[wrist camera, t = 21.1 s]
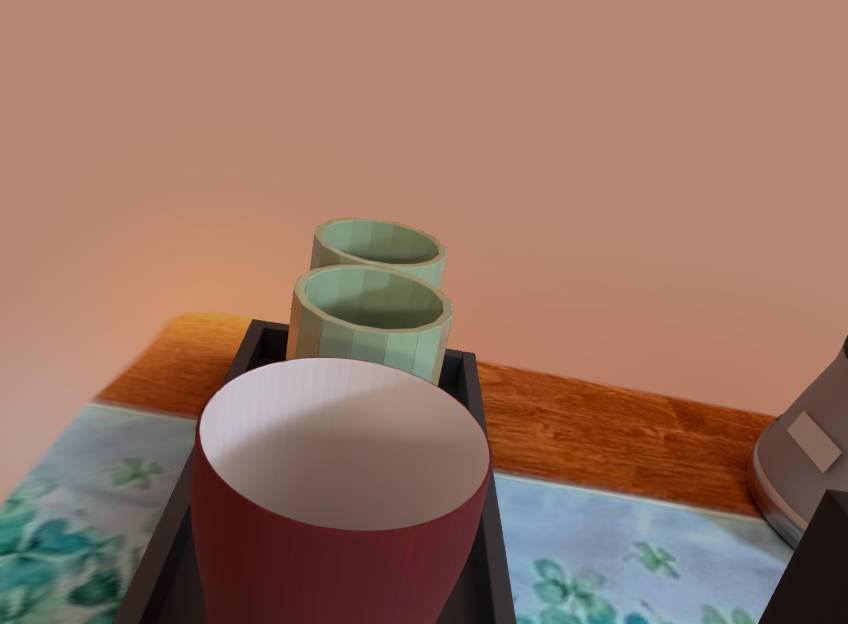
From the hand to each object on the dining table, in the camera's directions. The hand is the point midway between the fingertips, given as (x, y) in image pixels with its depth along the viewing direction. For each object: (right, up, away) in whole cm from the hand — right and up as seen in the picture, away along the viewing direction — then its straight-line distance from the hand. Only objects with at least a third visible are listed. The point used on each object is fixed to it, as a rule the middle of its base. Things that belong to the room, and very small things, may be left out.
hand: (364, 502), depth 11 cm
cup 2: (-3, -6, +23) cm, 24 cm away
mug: (-3, -9, +15) cm, 18 cm away
